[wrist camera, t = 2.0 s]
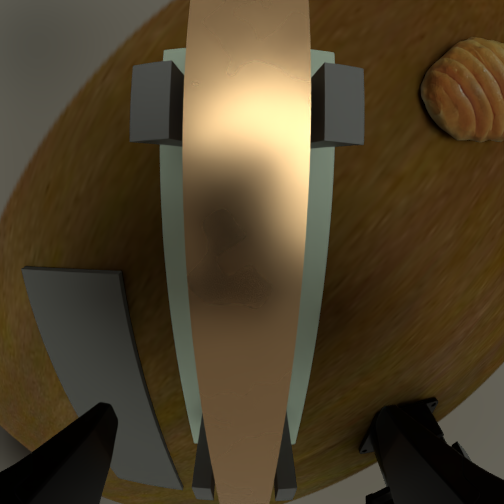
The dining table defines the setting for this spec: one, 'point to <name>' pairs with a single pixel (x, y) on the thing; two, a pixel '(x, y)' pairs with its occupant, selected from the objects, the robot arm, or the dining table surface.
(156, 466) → the rubber mat
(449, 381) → the dining table surface
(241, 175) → the copper rail
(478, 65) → the pastry
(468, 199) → the dining table surface
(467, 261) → the dining table surface
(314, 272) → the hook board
